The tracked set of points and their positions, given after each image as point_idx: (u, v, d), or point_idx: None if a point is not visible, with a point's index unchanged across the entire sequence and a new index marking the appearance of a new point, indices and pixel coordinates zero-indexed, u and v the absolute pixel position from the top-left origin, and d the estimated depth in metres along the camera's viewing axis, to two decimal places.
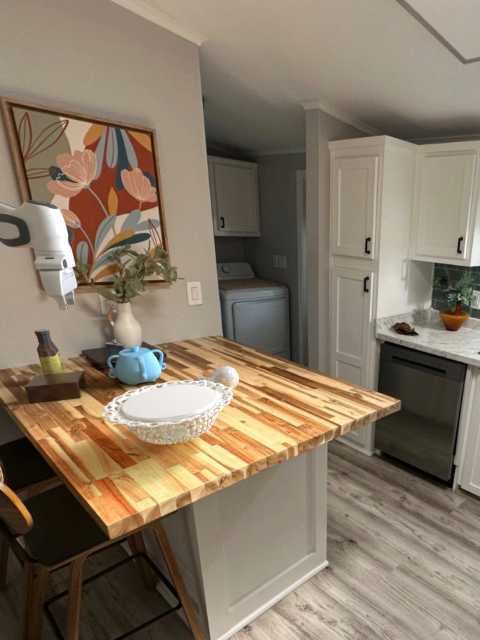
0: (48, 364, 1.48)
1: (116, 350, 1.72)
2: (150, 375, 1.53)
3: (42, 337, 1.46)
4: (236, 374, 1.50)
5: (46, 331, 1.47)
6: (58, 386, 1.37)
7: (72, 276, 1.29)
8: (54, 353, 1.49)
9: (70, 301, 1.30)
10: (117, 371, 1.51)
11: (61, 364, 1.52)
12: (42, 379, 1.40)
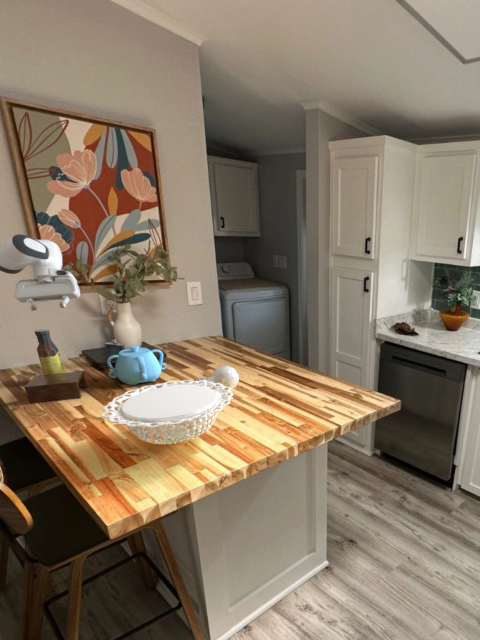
0: (48, 364, 1.48)
1: (116, 350, 1.72)
2: (150, 375, 1.53)
3: (42, 337, 1.46)
4: (236, 374, 1.50)
5: (46, 331, 1.47)
6: (58, 386, 1.37)
7: None
8: (54, 353, 1.49)
9: (35, 307, 1.55)
10: (117, 371, 1.51)
11: (61, 364, 1.52)
12: (42, 379, 1.40)
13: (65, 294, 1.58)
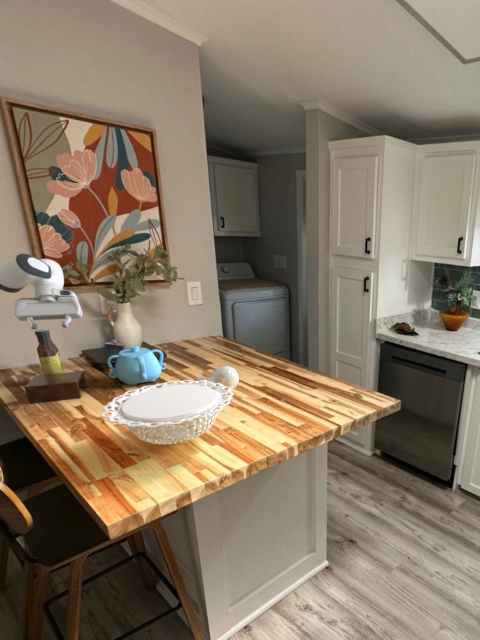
0: (48, 364, 1.48)
1: (116, 350, 1.72)
2: (150, 375, 1.53)
3: (42, 337, 1.46)
4: (236, 374, 1.50)
5: (46, 331, 1.47)
6: (58, 386, 1.37)
7: None
8: (54, 353, 1.49)
9: (36, 326, 1.53)
10: (117, 371, 1.51)
11: (61, 364, 1.52)
12: (42, 379, 1.40)
13: (68, 314, 1.57)
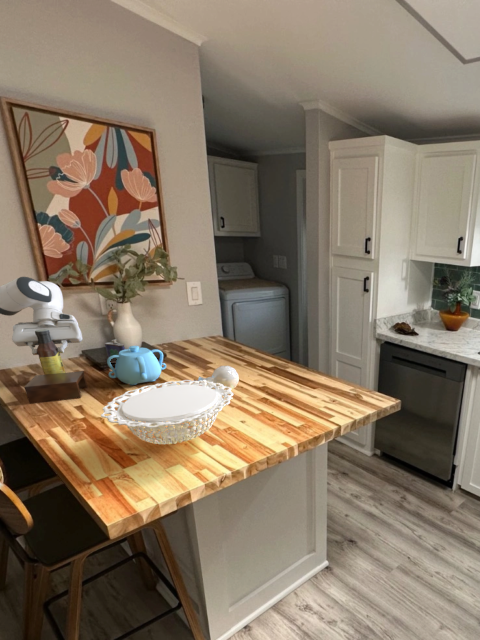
0: (48, 364, 1.48)
1: (116, 350, 1.72)
2: (150, 375, 1.53)
3: (43, 337, 1.46)
4: (236, 374, 1.50)
5: (46, 331, 1.47)
6: (58, 386, 1.37)
7: None
8: (54, 353, 1.49)
9: None
10: (117, 371, 1.51)
11: (61, 364, 1.52)
12: (42, 379, 1.40)
13: (68, 339, 1.52)
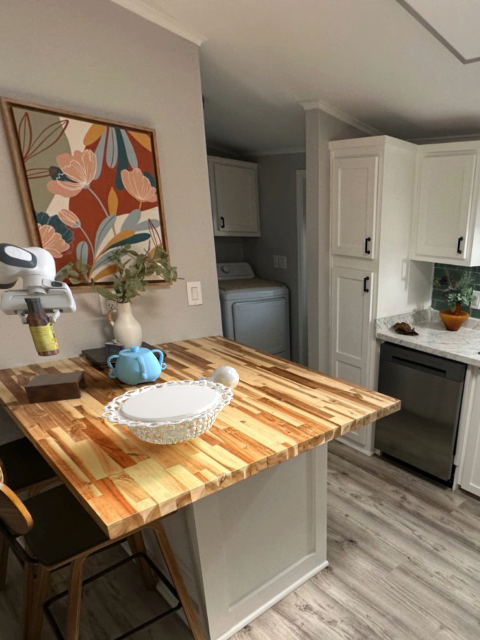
0: (39, 334, 1.38)
1: (116, 350, 1.72)
2: (150, 375, 1.53)
3: (33, 305, 1.35)
4: (236, 374, 1.50)
5: (37, 298, 1.36)
6: (58, 386, 1.37)
7: None
8: (46, 323, 1.38)
9: None
10: (117, 371, 1.51)
11: (53, 335, 1.41)
12: (42, 379, 1.40)
13: (60, 308, 1.41)
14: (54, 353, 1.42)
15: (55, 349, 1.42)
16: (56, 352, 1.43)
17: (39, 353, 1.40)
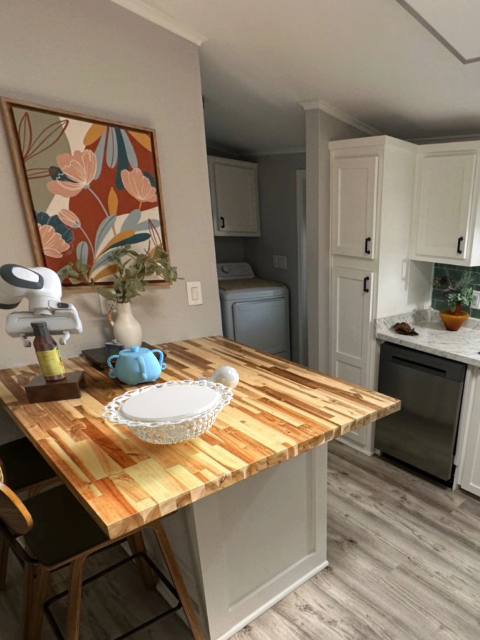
0: (45, 359, 1.35)
1: (116, 350, 1.72)
2: (150, 375, 1.53)
3: (39, 329, 1.33)
4: (236, 374, 1.50)
5: (43, 323, 1.33)
6: (58, 386, 1.37)
7: None
8: (52, 347, 1.36)
9: (30, 343, 1.35)
10: (117, 371, 1.51)
11: (60, 359, 1.39)
12: (42, 379, 1.40)
13: (66, 329, 1.39)
14: (61, 377, 1.39)
15: (62, 374, 1.40)
16: (63, 376, 1.40)
17: (45, 378, 1.38)
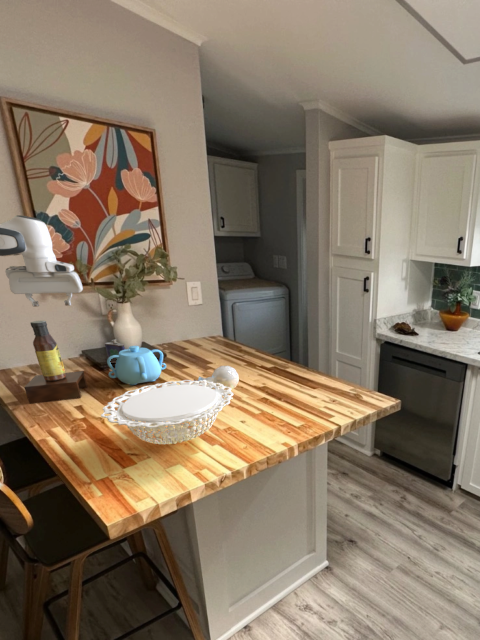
0: (45, 359, 1.35)
1: (116, 350, 1.72)
2: (150, 375, 1.53)
3: (39, 329, 1.33)
4: (236, 374, 1.50)
5: (43, 323, 1.33)
6: (58, 386, 1.37)
7: None
8: (52, 347, 1.36)
9: (37, 303, 1.46)
10: (117, 371, 1.51)
11: (60, 359, 1.39)
12: (42, 379, 1.40)
13: (69, 292, 1.47)
14: (61, 377, 1.39)
15: (62, 374, 1.40)
16: (63, 376, 1.40)
17: (45, 378, 1.38)
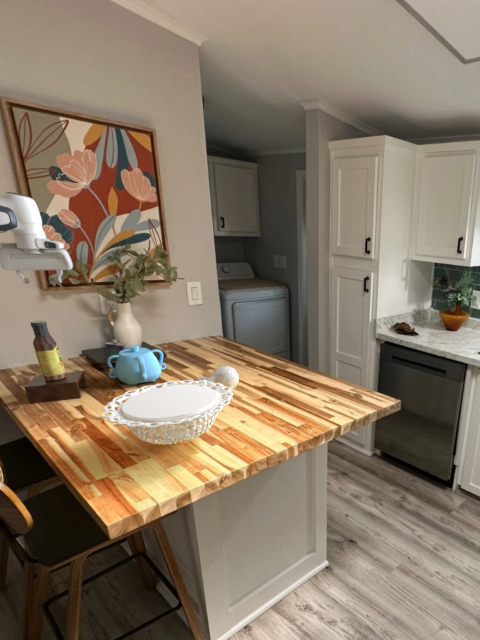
0: (45, 359, 1.35)
1: (116, 350, 1.72)
2: (150, 375, 1.53)
3: (39, 329, 1.33)
4: (236, 374, 1.50)
5: (43, 323, 1.33)
6: (58, 386, 1.37)
7: None
8: (52, 347, 1.36)
9: (28, 280, 1.49)
10: (117, 371, 1.51)
11: (60, 359, 1.39)
12: (42, 379, 1.40)
13: (59, 269, 1.50)
14: (61, 377, 1.39)
15: (62, 374, 1.40)
16: (63, 376, 1.40)
17: (45, 378, 1.38)
